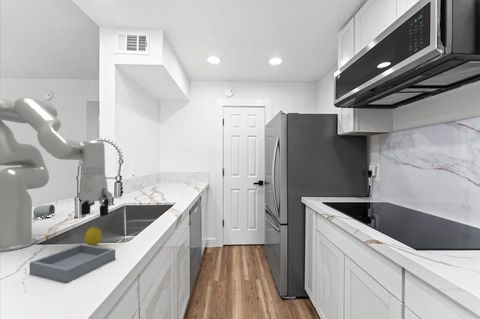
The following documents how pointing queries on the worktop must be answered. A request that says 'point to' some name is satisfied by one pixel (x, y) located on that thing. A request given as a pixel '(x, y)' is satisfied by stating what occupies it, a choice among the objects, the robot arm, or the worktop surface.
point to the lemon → (93, 236)
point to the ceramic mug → (44, 211)
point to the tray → (72, 262)
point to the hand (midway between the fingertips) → (94, 214)
